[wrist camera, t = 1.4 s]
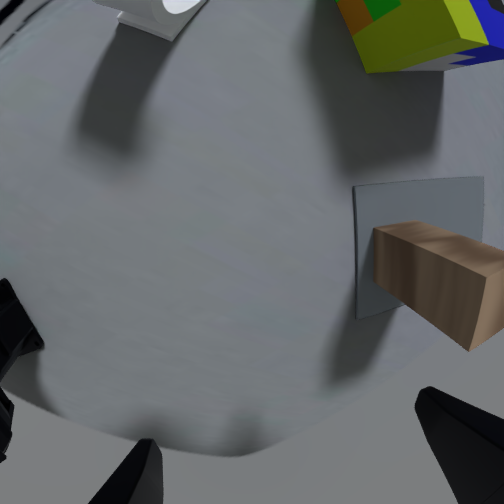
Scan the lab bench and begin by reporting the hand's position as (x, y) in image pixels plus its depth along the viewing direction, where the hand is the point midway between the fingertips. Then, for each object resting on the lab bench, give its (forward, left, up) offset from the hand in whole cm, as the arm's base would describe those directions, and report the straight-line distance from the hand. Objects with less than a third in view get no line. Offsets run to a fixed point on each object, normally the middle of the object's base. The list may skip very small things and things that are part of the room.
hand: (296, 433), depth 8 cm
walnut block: (+13, -3, -13) cm, 18 cm away
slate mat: (+17, -4, -13) cm, 22 cm away
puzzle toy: (+20, +16, -14) cm, 29 cm away
